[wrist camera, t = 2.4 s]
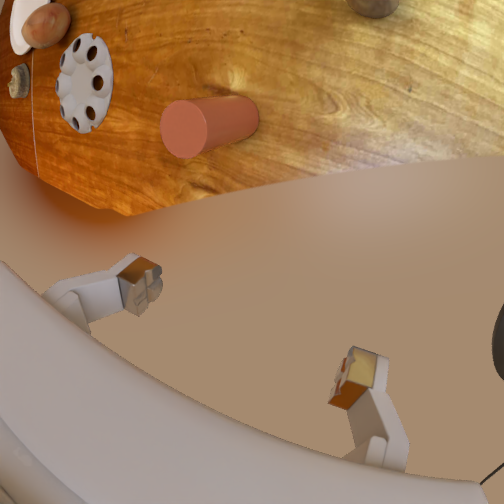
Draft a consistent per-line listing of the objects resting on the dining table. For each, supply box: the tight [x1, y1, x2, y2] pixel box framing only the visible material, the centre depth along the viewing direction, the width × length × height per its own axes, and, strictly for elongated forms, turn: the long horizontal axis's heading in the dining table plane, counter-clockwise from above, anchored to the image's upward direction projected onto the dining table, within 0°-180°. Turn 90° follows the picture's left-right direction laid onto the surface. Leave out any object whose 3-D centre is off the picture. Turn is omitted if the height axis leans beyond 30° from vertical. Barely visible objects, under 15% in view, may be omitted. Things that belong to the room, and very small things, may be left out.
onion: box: [21, 3, 71, 49], centre depth 32 cm, size 10×10×10 cm
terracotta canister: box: [160, 94, 259, 159], centre depth 29 cm, size 6×6×10 cm
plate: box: [10, 0, 50, 55], centre depth 35 cm, size 28×28×2 cm
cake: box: [7, 64, 30, 98], centre depth 48 cm, size 10×10×5 cm
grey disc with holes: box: [56, 33, 113, 133], centre depth 40 cm, size 20×20×2 cm
